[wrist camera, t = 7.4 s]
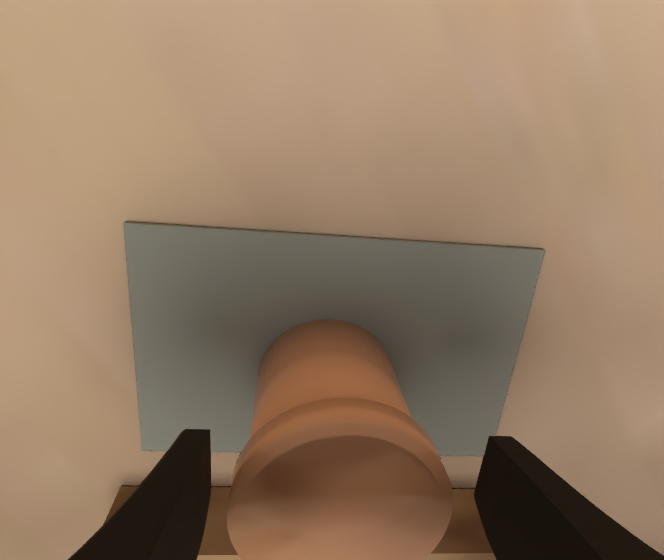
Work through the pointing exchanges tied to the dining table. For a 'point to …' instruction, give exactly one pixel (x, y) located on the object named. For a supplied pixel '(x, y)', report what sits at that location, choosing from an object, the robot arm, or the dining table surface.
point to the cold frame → (449, 556)
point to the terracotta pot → (335, 456)
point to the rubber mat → (317, 304)
